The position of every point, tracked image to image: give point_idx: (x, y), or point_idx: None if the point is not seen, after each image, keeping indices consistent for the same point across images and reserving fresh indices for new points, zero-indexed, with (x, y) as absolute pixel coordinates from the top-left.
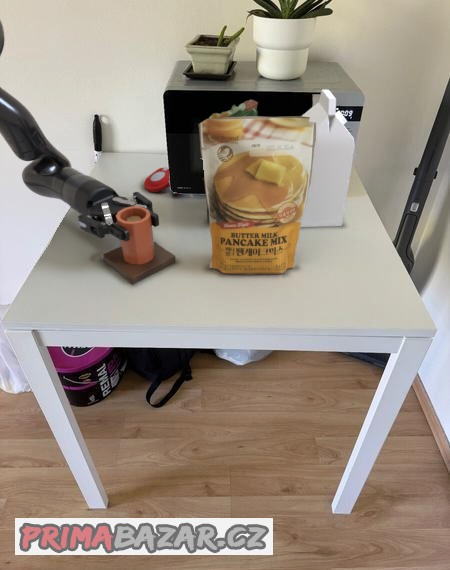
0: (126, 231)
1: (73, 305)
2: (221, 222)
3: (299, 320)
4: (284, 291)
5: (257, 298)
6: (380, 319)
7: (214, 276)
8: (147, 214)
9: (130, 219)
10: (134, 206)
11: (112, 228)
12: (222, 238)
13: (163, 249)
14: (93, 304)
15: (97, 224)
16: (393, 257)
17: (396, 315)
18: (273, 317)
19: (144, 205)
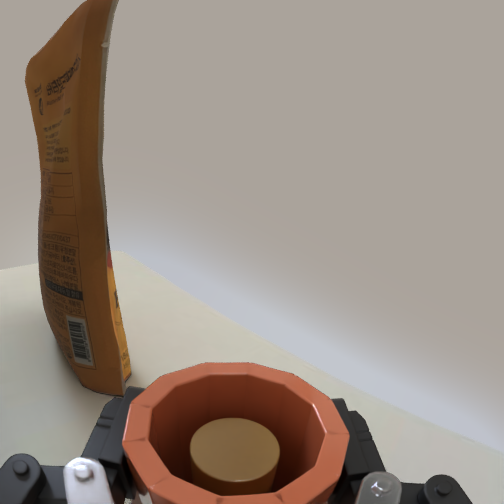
0: (331, 399)
1: (471, 481)
2: (109, 251)
3: (173, 291)
4: (127, 309)
5: (163, 323)
6: (128, 262)
7: (147, 381)
8: (178, 379)
9: (250, 458)
10: (148, 478)
11: (376, 463)
12: (115, 292)
13: (138, 497)
14: (431, 468)
15: (449, 496)
16: (20, 266)
17: (116, 258)
18: (187, 304)
19: (64, 478)
